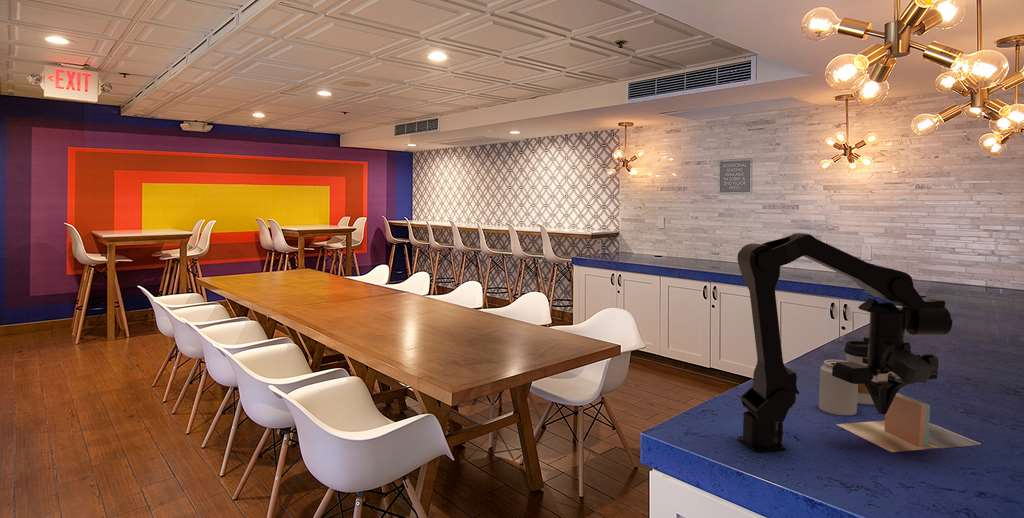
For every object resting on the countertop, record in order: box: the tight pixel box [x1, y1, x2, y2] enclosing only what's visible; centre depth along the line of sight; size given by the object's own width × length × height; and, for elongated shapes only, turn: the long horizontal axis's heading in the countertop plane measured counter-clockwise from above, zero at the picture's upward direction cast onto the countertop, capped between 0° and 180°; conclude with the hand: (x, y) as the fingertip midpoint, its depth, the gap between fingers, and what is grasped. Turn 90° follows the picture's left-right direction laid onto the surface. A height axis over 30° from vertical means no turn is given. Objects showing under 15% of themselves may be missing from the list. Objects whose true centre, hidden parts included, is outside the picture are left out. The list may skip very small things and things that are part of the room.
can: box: [818, 359, 858, 416], centre depth 130 cm, size 8×8×12 cm
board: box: [836, 420, 982, 453], centre depth 116 cm, size 20×14×1 cm
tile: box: [884, 392, 931, 447], centre depth 114 cm, size 2×8×8 cm, turn 11°
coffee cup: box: [843, 340, 881, 405], centre depth 136 cm, size 8×8×15 cm
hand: (882, 413), depth 112 cm, fingers closed
